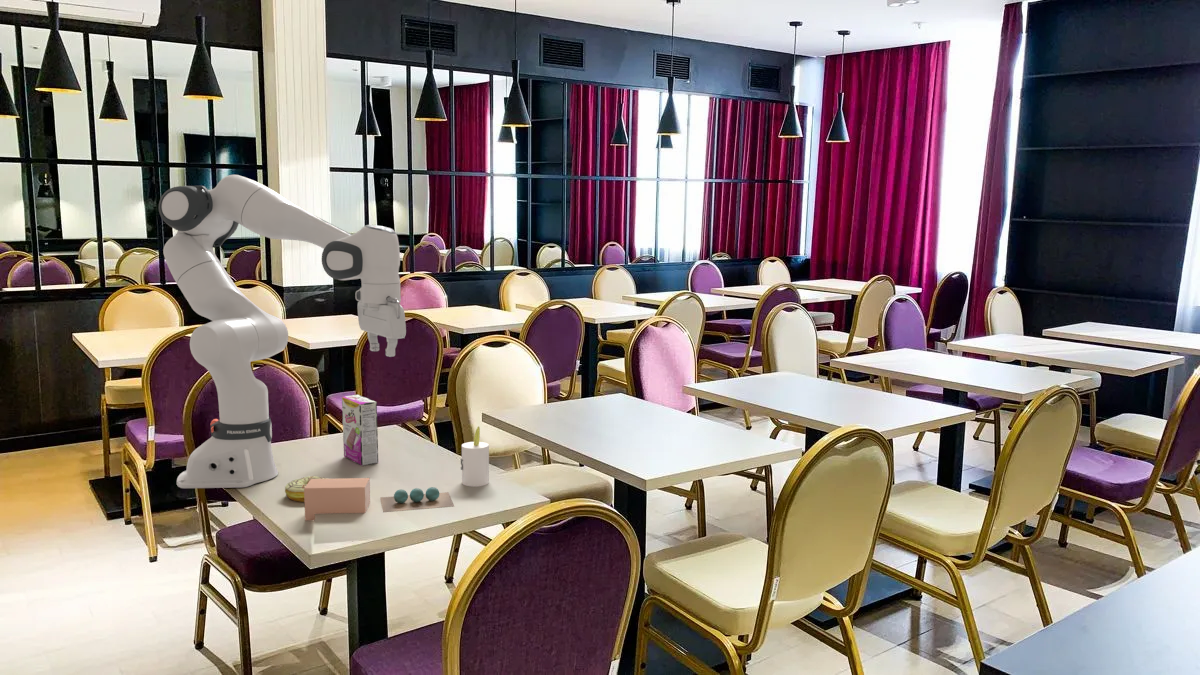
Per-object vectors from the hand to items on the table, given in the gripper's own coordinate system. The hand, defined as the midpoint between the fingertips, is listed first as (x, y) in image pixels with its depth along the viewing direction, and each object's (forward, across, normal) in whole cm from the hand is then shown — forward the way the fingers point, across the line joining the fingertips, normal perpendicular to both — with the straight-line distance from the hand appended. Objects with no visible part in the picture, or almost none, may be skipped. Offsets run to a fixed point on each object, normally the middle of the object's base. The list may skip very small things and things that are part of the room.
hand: (382, 353), depth 210 cm
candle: (+31, -17, -15) cm, 39 cm away
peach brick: (+31, -17, +18) cm, 40 cm away
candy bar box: (+31, +21, -2) cm, 38 cm away
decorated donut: (+32, -1, +18) cm, 36 cm away
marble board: (+31, -22, +2) cm, 38 cm away
